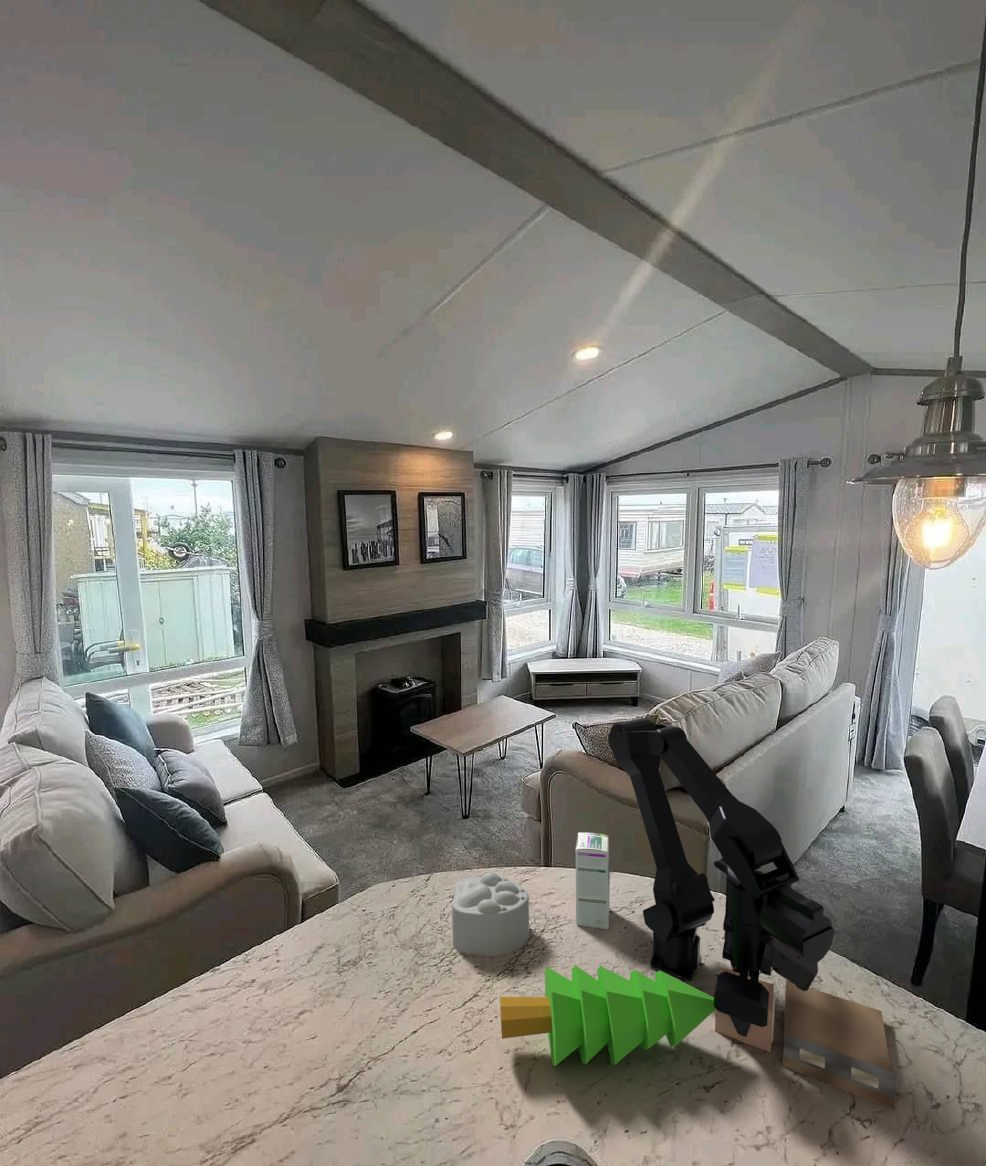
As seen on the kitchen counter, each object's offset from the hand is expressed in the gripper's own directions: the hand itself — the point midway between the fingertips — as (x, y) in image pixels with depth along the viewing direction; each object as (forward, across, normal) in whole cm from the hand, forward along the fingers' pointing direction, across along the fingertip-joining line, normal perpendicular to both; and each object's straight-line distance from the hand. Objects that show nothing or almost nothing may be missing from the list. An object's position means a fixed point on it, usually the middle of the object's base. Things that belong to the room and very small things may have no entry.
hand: (744, 1016), depth 80 cm
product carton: (+2, 0, 0) cm, 2 cm away
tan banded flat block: (+2, +3, -11) cm, 12 cm away
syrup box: (+2, +12, +26) cm, 29 cm away
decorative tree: (+2, -12, +15) cm, 20 cm away
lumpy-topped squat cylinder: (+2, 0, +40) cm, 40 cm away
